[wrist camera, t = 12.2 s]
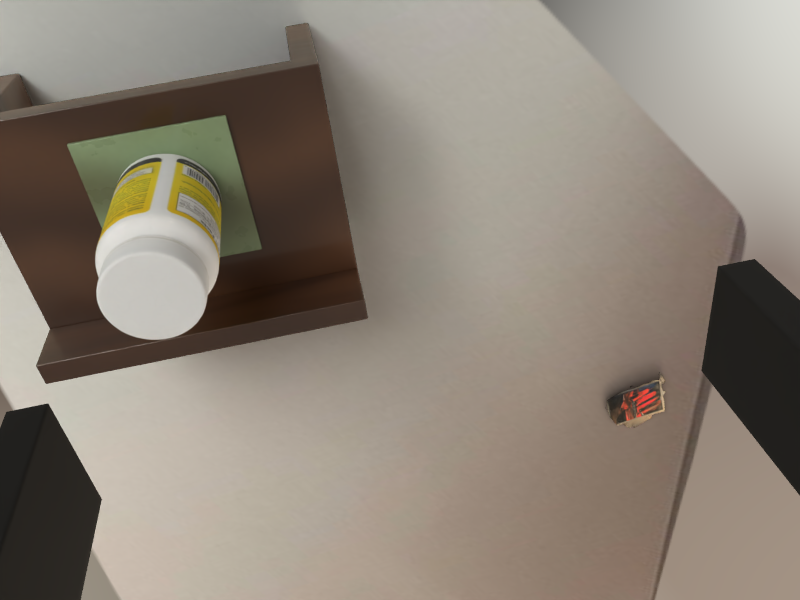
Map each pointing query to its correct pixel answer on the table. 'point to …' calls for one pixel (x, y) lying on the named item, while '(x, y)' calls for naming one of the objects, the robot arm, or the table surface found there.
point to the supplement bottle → (159, 247)
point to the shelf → (240, 193)
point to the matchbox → (637, 404)
